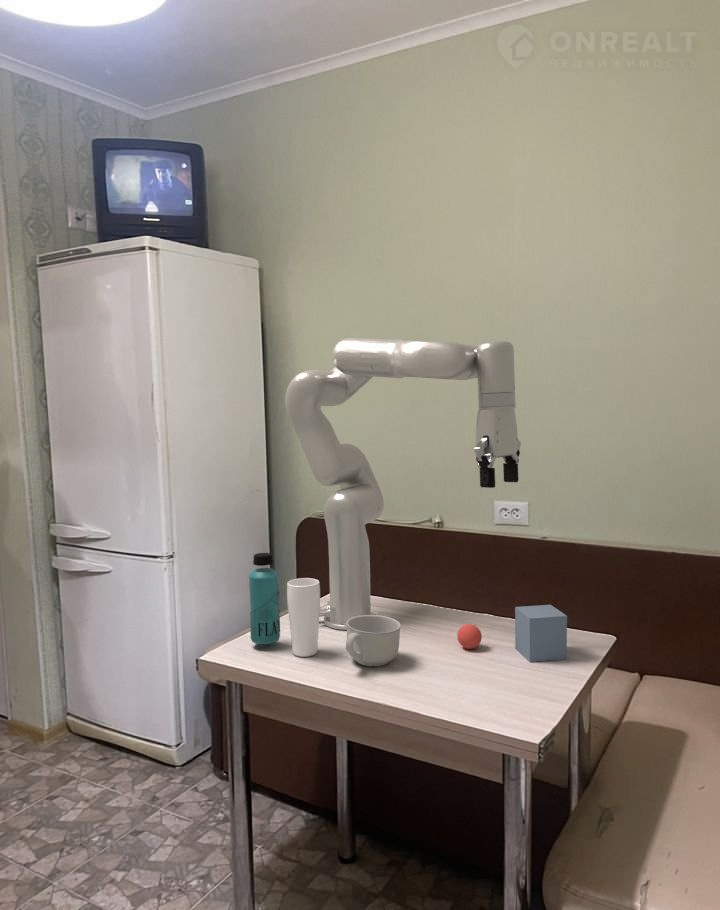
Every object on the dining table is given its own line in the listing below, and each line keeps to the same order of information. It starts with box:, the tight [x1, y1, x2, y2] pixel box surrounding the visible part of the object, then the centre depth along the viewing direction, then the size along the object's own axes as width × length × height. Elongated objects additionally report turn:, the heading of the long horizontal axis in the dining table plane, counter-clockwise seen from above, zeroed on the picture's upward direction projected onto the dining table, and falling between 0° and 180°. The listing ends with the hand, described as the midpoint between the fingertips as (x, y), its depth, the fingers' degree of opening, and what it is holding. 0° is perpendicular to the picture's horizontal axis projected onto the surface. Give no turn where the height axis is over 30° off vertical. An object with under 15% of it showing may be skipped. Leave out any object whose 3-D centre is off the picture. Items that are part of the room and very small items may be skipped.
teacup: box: [345, 614, 402, 667], centre depth 138 cm, size 14×11×8 cm
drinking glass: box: [286, 577, 321, 658], centre depth 144 cm, size 7×7×15 cm
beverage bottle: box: [248, 552, 281, 645], centre depth 149 cm, size 6×7×20 cm
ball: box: [456, 623, 483, 650], centre depth 146 cm, size 5×5×5 cm
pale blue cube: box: [514, 604, 568, 663], centre depth 141 cm, size 8×8×9 cm
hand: (499, 484), depth 145 cm, fingers open, 9 cm apart
